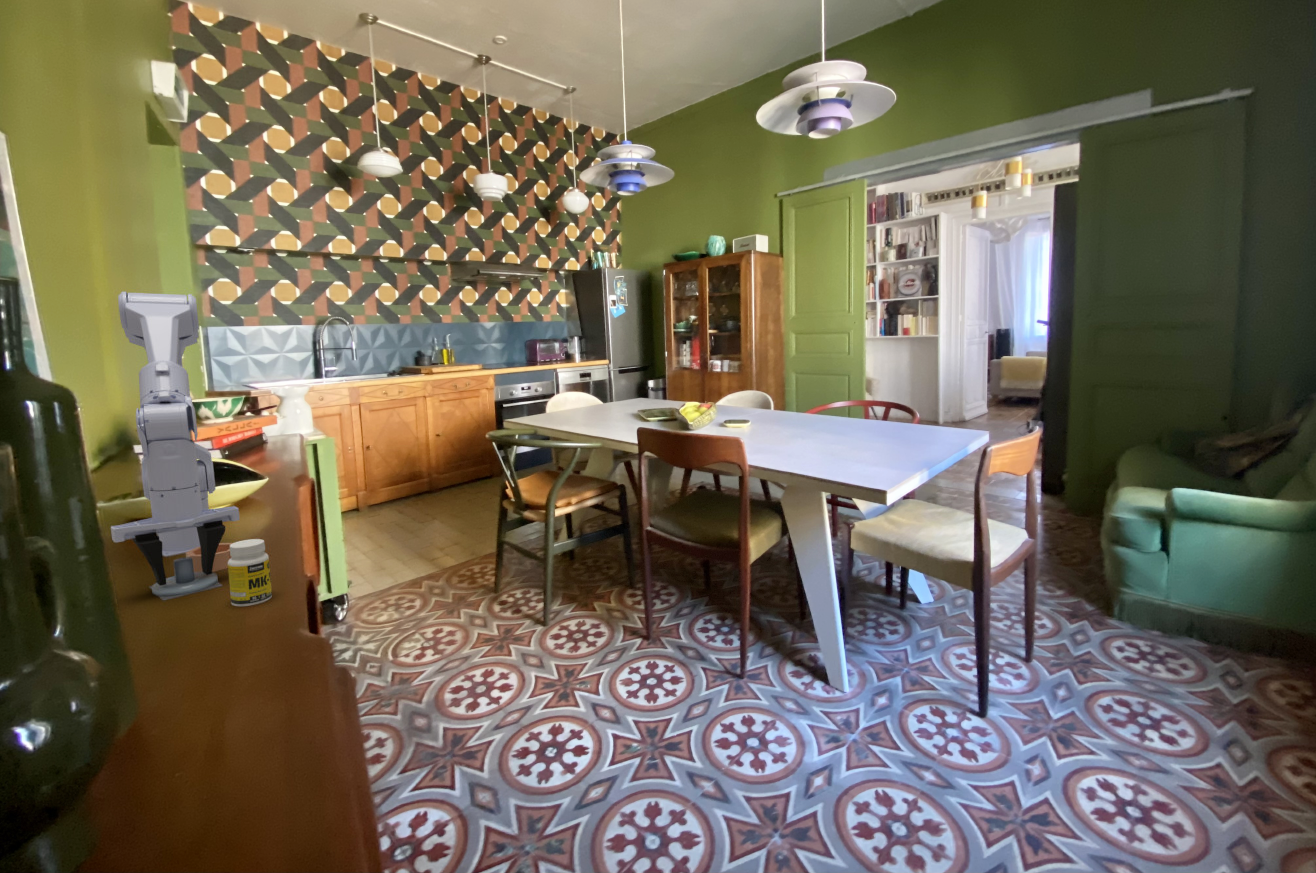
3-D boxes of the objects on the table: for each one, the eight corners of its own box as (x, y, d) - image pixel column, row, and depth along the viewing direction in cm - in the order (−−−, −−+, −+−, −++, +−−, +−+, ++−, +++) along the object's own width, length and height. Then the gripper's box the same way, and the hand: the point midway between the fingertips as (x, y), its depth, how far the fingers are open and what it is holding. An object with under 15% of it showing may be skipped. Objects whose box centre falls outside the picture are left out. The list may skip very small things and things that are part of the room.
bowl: (184, 568, 99) (181, 550, 98) (232, 557, 104) (230, 540, 103) (196, 577, 95) (193, 558, 94) (245, 566, 100) (243, 548, 99)
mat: (149, 589, 90) (148, 586, 90) (206, 575, 96) (206, 573, 95) (163, 603, 85) (163, 600, 85) (223, 588, 90) (222, 585, 90)
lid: (146, 587, 90) (143, 561, 89) (209, 573, 96) (206, 548, 95) (159, 600, 85) (156, 572, 84) (224, 584, 91) (222, 558, 90)
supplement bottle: (252, 610, 83) (246, 549, 82) (222, 607, 84) (216, 547, 82) (280, 596, 87) (275, 538, 86) (252, 593, 88) (246, 536, 87)
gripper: (113, 500, 80) (126, 600, 82) (242, 482, 91) (251, 570, 93) (103, 492, 85) (115, 587, 87) (227, 476, 96) (235, 560, 98)
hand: (185, 578), depth 90 cm, fingers open, 5 cm apart
